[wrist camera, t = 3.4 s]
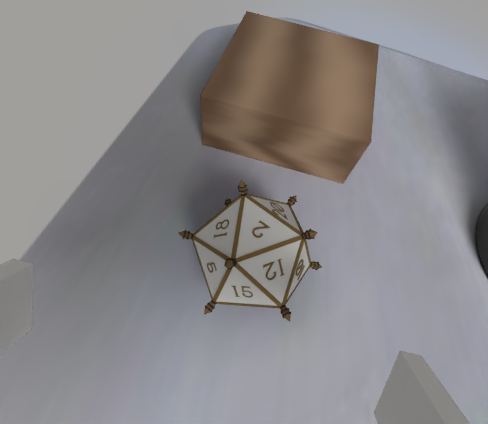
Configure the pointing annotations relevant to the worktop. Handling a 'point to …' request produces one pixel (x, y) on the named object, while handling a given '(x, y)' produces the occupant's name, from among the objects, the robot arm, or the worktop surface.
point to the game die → (253, 252)
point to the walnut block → (292, 97)
